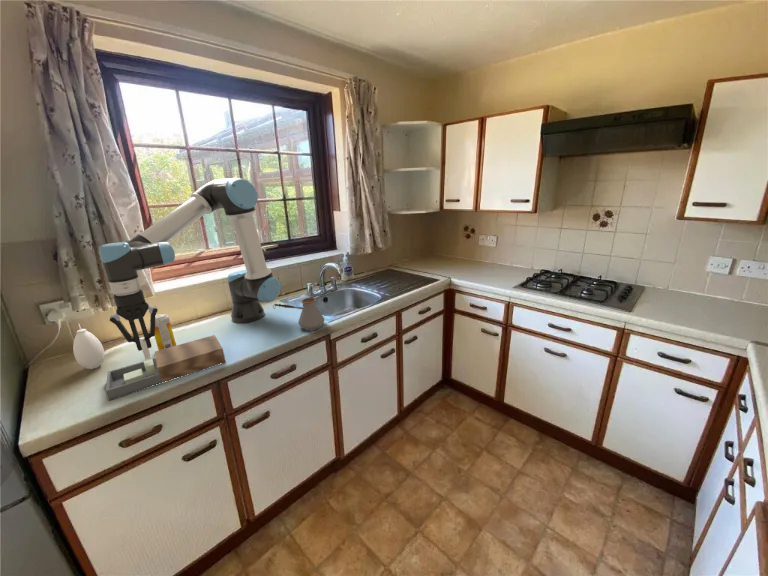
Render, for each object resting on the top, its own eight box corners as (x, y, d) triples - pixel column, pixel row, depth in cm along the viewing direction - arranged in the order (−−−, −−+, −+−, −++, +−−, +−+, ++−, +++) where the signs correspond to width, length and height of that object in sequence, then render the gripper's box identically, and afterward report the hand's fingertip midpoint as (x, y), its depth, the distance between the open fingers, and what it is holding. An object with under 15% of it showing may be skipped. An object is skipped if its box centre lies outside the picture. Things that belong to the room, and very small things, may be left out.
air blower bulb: (76, 375, 117) (58, 329, 111) (88, 364, 124) (71, 320, 118) (102, 371, 119) (85, 325, 113) (112, 360, 126) (97, 317, 120)
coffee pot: (318, 319, 155) (314, 289, 151) (329, 327, 146) (326, 295, 142) (273, 332, 144) (268, 300, 139) (282, 342, 135) (277, 308, 130)
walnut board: (217, 348, 132) (214, 334, 130) (225, 362, 121) (222, 348, 119) (158, 366, 121) (154, 351, 119) (162, 383, 110) (157, 367, 108)
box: (158, 366, 121) (156, 357, 120) (162, 383, 110) (159, 374, 109) (110, 380, 113) (107, 371, 112) (109, 400, 102) (105, 391, 101)
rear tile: (152, 358, 115) (143, 361, 113) (153, 364, 111) (144, 367, 110) (156, 371, 116) (147, 373, 115) (157, 377, 113) (148, 379, 111)
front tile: (123, 374, 111) (125, 380, 111) (124, 380, 107) (126, 387, 108) (141, 368, 114) (143, 374, 114) (142, 374, 110) (144, 380, 111)
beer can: (173, 345, 136) (164, 311, 131) (179, 349, 132) (170, 315, 128) (157, 351, 132) (146, 316, 127) (162, 355, 128) (152, 320, 123)
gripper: (100, 300, 98) (124, 368, 105) (152, 290, 105) (171, 355, 113) (102, 293, 103) (124, 359, 111) (151, 284, 111) (168, 346, 118)
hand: (147, 357), depth 112 cm, fingers closed
